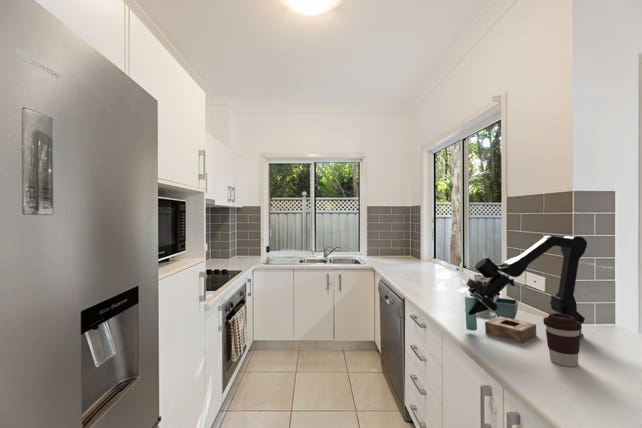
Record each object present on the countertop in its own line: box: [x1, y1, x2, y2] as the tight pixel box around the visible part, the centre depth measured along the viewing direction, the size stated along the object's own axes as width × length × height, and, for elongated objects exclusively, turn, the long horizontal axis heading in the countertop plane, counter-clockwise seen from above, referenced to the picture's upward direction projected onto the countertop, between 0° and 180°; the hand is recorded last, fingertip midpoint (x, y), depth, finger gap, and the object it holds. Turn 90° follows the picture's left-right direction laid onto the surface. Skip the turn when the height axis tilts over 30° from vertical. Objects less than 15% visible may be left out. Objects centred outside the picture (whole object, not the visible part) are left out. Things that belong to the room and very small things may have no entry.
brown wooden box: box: [484, 316, 537, 344], centre depth 127 cm, size 14×12×4 cm
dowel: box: [464, 295, 478, 332], centre depth 130 cm, size 4×4×13 cm
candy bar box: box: [473, 272, 500, 302], centre depth 168 cm, size 11×5×16 cm, turn 25°
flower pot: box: [494, 297, 519, 320], centre depth 144 cm, size 9×9×9 cm
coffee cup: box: [543, 312, 583, 368], centre depth 102 cm, size 10×10×15 cm
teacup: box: [476, 308, 496, 318], centre depth 154 cm, size 10×10×5 cm
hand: (467, 312), depth 130 cm, fingers closed on dowel, 4 cm apart
